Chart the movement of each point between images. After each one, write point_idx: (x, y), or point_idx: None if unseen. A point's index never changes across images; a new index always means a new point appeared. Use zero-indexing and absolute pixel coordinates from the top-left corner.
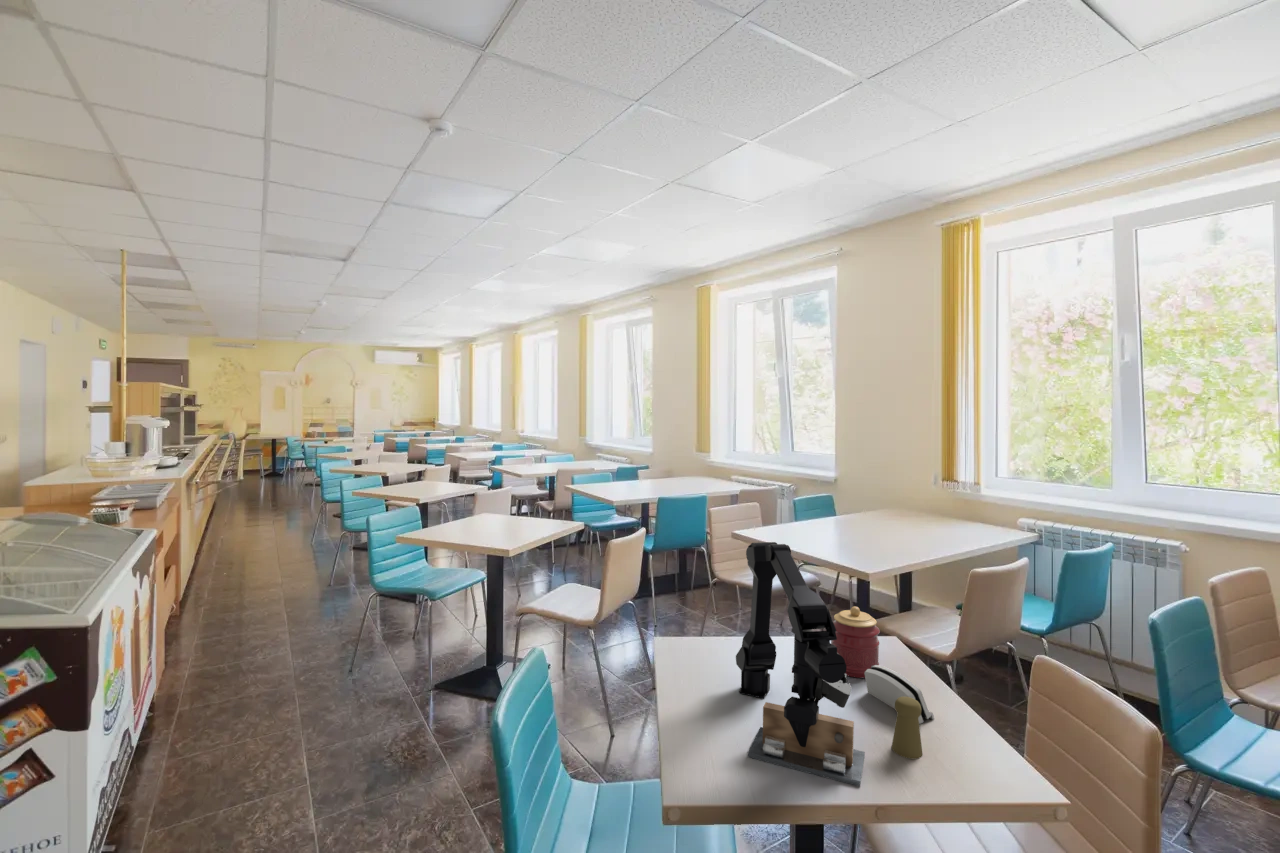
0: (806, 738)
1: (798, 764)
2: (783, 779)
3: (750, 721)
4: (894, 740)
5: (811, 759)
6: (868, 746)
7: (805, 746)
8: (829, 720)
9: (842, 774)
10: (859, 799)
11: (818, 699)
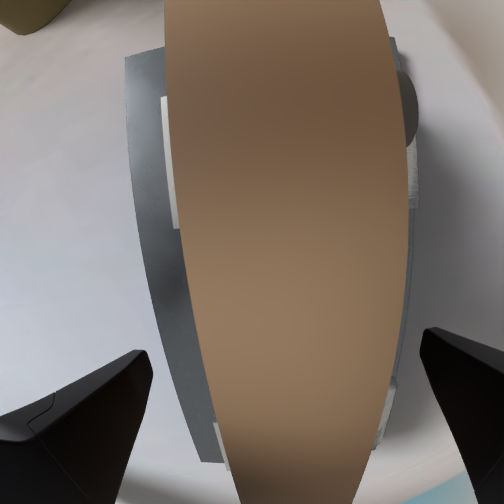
0: (487, 349)
1: (402, 310)
2: (459, 323)
3: (169, 468)
4: (33, 2)
5: None
6: (57, 84)
7: (438, 328)
8: (363, 251)
9: None
10: (455, 56)
11: (15, 452)
